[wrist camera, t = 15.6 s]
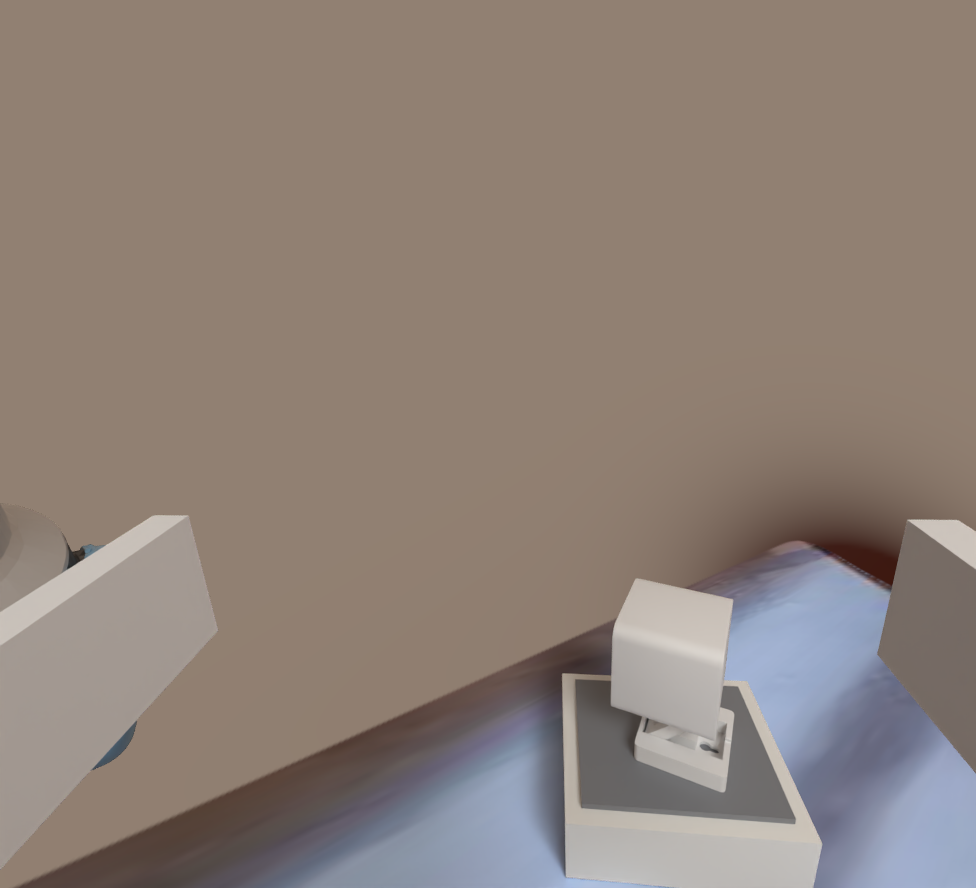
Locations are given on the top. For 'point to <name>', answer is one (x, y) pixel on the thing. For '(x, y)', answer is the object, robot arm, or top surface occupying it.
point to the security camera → (675, 679)
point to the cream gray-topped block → (679, 803)
